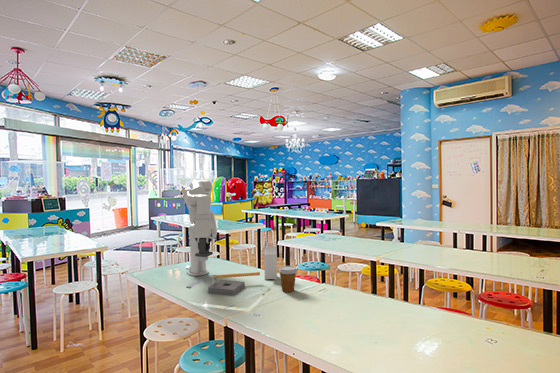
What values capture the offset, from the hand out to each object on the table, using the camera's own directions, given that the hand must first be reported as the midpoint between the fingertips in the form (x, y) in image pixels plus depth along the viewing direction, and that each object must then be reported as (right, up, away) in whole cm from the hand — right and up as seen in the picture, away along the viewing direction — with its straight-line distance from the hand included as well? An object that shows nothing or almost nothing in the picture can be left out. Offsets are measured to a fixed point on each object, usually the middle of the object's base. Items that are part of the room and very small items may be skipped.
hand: (204, 249), depth 181 cm
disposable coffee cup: (+47, -20, -11) cm, 52 cm away
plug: (0, -6, 0) cm, 6 cm away
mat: (0, -20, 0) cm, 20 cm away
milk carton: (+37, -20, +12) cm, 44 cm away
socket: (+14, -20, -12) cm, 27 cm away
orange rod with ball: (+19, -14, -5) cm, 24 cm away
